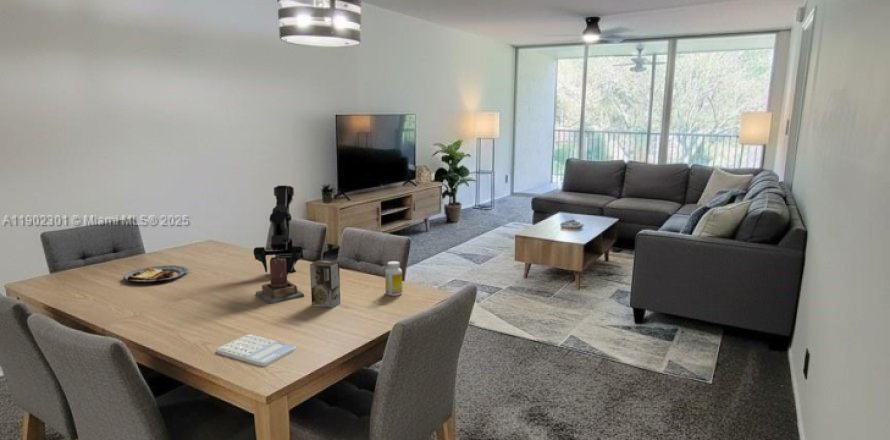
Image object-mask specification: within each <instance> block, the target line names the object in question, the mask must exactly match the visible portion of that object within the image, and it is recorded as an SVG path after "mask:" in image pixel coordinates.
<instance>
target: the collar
mask: <svg viewBox="0 0 890 440" xmlns="http://www.w3.org/2000/svg"><path fill="white" fill-rule="evenodd" d="M255 295H256V296H257V297H259V298H261V299H262V300H263V301H264V302H266V303H267V304H270V305H271V304H274V303H279V302H284V301H289V300H293V299H294V300H295V299H298V298H303V297H305V294H304V293H303V292H301V291H299V290H298V286H297V285H296V284H294V283H293V282H291V281H290V280H288V279H287V287H286V288H281V289H276V290H272V289H271V282H268V283H264V284H261V290H257V291H255Z"/></svg>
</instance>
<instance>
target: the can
mask: <svg viewBox="0 0 890 440" xmlns="http://www.w3.org/2000/svg"><path fill="white" fill-rule="evenodd" d="M269 271H270V272H269V275H270V283H271V289H272V290H276V289H281V288H286V287H287V280H288V273H287V267H286V259H285V257H276V256H273V257H271V258H270V260H269Z"/></svg>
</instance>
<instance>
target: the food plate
mask: <svg viewBox="0 0 890 440" xmlns="http://www.w3.org/2000/svg"><path fill="white" fill-rule="evenodd" d="M189 271H190V269H189V268H188V267H185V266H183V265H182V266H181V265H174V264H172V265H171V264H170V265H169V264H168V265H167V264H166V265H155V266H147V267H143V268H142V267H141V268H138V269H134V270H131V271H130V272H128V273H126V274H125V275H123V277H122V278H123V280H126V281H128V282H139V283H155V282H159V281H160V282H161V281H165V280H166V281H168V280H174V279H178V278H180V277H181V276H182V275H185V274H186V273H187V272H189ZM174 273H175V274H176V273H177V275H176V276H174V275H175V274H174Z"/></svg>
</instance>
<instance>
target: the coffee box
mask: <svg viewBox="0 0 890 440" xmlns="http://www.w3.org/2000/svg"><path fill="white" fill-rule="evenodd" d="M309 273H310V276H309V277H310V291H311V293H310V294H311V306H315V307H324V308H331V309H332V308H335V307H336V306H339V304H341V283H340V281H341V280H340V279H341V278H340V276H341V275H340V261H333V260H322V259H321V260H320V259H318V260H316V261H313V262H311V263H310V264H309Z"/></svg>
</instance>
